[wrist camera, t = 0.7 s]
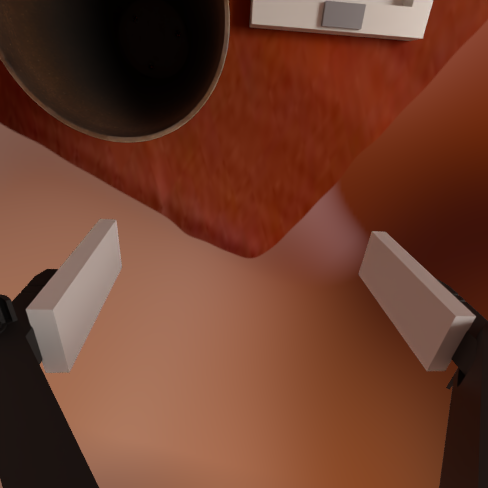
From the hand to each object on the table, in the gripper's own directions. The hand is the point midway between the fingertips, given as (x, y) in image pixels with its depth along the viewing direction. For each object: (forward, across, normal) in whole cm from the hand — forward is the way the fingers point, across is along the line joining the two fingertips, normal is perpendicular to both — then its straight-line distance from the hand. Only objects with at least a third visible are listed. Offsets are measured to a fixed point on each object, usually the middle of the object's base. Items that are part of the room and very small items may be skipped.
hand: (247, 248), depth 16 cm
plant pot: (+26, -9, +10) cm, 29 cm away
